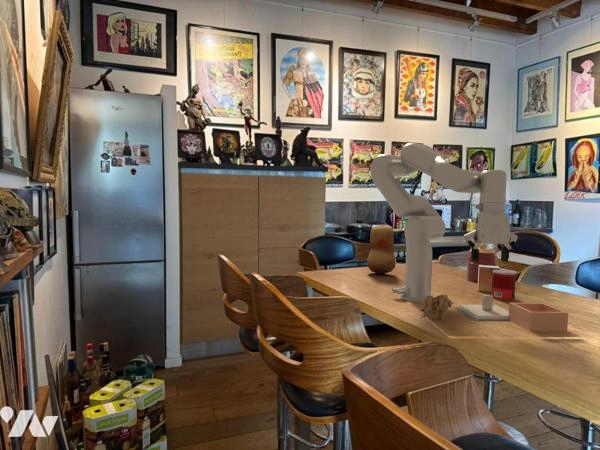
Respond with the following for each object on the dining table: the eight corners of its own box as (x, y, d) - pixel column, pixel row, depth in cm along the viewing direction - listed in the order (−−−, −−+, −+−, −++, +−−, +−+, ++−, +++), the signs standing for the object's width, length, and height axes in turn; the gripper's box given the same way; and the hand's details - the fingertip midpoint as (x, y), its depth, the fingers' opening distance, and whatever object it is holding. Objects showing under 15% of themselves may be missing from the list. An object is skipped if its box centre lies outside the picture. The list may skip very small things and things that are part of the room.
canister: (501, 283, 184) (503, 245, 183) (473, 283, 184) (474, 245, 183) (488, 278, 197) (490, 242, 196) (461, 277, 197) (463, 242, 196)
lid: (476, 319, 125) (477, 300, 124) (458, 308, 138) (459, 290, 137) (517, 319, 125) (518, 300, 125) (495, 308, 138) (496, 291, 138)
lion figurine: (454, 325, 120) (455, 295, 120) (438, 326, 119) (440, 296, 118) (427, 311, 134) (428, 285, 134) (413, 312, 133) (414, 286, 133)
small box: (477, 291, 167) (478, 266, 166) (477, 288, 172) (478, 264, 171) (499, 293, 164) (500, 268, 163) (497, 290, 169) (499, 265, 168)
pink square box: (529, 333, 114) (530, 312, 114) (508, 321, 125) (509, 302, 125) (567, 333, 114) (568, 312, 114) (542, 321, 125) (543, 302, 125)
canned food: (517, 303, 148) (518, 273, 148) (494, 301, 150) (495, 272, 149) (510, 298, 156) (512, 270, 155) (488, 296, 157) (490, 269, 157)
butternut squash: (366, 276, 196) (368, 225, 194) (366, 271, 209) (368, 223, 208) (395, 277, 194) (397, 226, 192) (393, 272, 207) (395, 224, 205)
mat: (474, 322, 123) (474, 320, 123) (452, 308, 139) (452, 306, 139) (525, 323, 124) (525, 321, 124) (497, 308, 140) (497, 307, 140)
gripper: (471, 208, 125) (469, 262, 126) (525, 209, 126) (522, 263, 127) (460, 208, 132) (458, 259, 133) (511, 208, 133) (509, 259, 134)
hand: (489, 261), depth 130 cm, fingers open, 9 cm apart
